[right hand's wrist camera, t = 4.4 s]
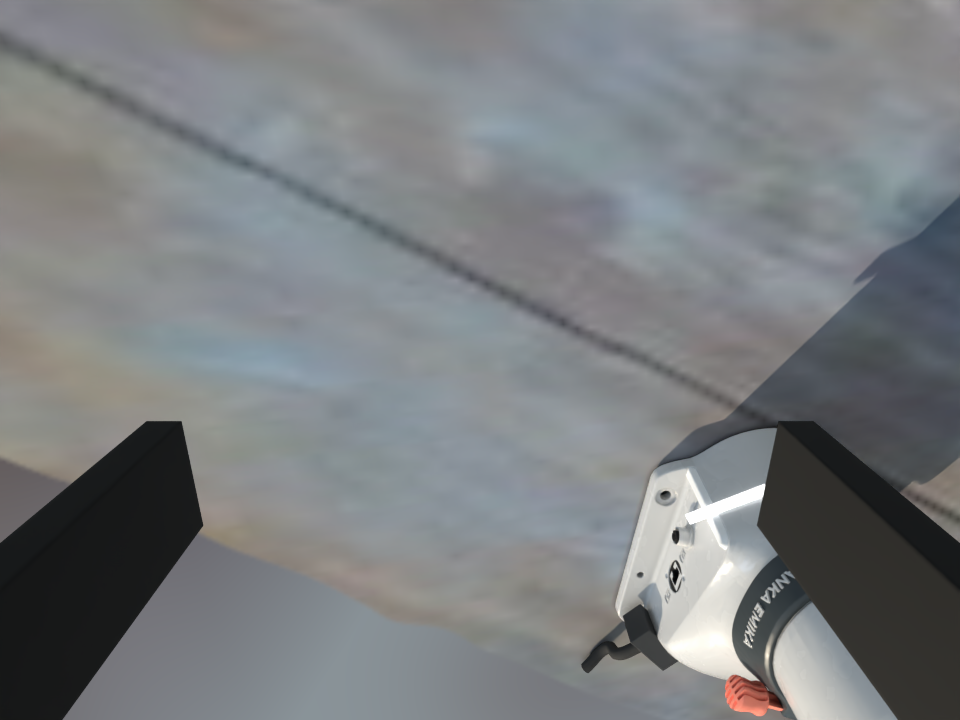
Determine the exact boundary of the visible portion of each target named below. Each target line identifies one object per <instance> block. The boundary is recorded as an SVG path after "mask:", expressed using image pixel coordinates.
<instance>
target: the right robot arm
mask: <svg viewBox="0 0 960 720" xmlns="http://www.w3.org/2000/svg"><path fill="white" fill-rule="evenodd" d="M202 527H203V522H202V517H201V512H200V508H199V503H198V498H197V493H196V488H195V484H194V479H193V474H192V469H191V464H190V460H189V455H188V450H187V445H186V441H185V436H184V431H183V426H182V421H146V422H145V423H144V424H143V425H142V426H140V427H139V428H138V429H137V430H136V431H134V432H133V433H132V434H131V435H130V436H128V437H127V438H126V439H125V440H124V441H122V442H121V443H120V444H119V445H118V446H116V447H115V448H114V449H113V450H112V451H110V452H109V453H108V454H107V455H106V456H104V457H103V458H102V459H101V460H100V461H98V462H97V463H96V464H95V465H94V466H92V467H91V468H90V469H89V470H87V471H86V472H85V473H84V474H83V475H81V476H80V477H79V478H78V479H77V480H75V481H74V482H73V483H72V484H71V485H69V486H68V487H67V488H66V489H65V490H64V491H62V492H61V493H60V494H59V495H57V496H56V497H55V498H54V499H53V500H51V501H50V502H49V503H48V504H47V505H45V506H44V507H43V508H42V509H41V510H39V511H38V512H37V513H36V514H35V515H33V516H32V517H31V518H30V519H29V520H27V521H26V522H25V523H24V524H23V525H21V526H20V527H19V528H18V529H17V530H15V531H14V532H13V533H12V534H11V535H9V536H8V537H7V538H6V539H5V540H3V541H2V542H1V543H0V720H62V719H63V718H64V717H65V715H66V714H67V713H68V711H69V710H70V708H71V707H72V706H73V704H74V703H75V702H76V700H77V699H78V697H79V696H80V695H81V693H82V692H83V691H84V689H85V688H86V686H87V685H88V684H89V682H90V681H91V680H92V678H93V677H94V675H95V674H96V673H97V671H98V670H99V668H100V667H101V666H102V664H103V663H104V662H105V660H106V659H107V657H108V656H109V655H110V653H111V652H112V651H113V649H114V648H115V646H116V645H117V644H118V642H119V641H120V640H121V638H122V637H123V635H124V634H125V633H126V631H127V630H128V628H129V627H130V626H131V624H132V623H133V622H134V620H135V619H136V617H137V616H138V615H139V613H140V612H141V611H142V609H143V608H144V606H145V605H146V604H147V602H148V601H149V600H150V598H151V597H152V595H153V594H154V593H155V591H156V590H157V588H158V587H159V586H160V584H161V583H162V582H163V580H164V579H165V578H166V576H167V575H168V573H169V572H170V571H171V569H172V568H173V566H174V565H175V564H176V562H177V561H178V559H179V558H180V557H181V555H182V554H183V553H184V551H185V550H186V549H187V547H188V546H189V544H190V543H191V542H192V540H193V539H194V538H195V536H196V535H197V533H198V532H199V531H200V529H201V528H202ZM757 527H758V528H759V529H760V531H761V532H762V533H763V535H764V536H765V538H766V539H767V540H768V542H769V543H770V544H771V546H772V547H773V549H774V550H775V551H776V553H777V554H778V555H779V557H780V558H781V560H782V561H783V562H784V564H785V565H786V566H787V568H788V569H789V571H790V572H791V573H792V575H793V576H794V578H795V579H796V580H797V582H798V583H799V584H800V586H801V587H802V589H803V590H804V591H805V593H806V594H807V595H808V597H809V598H810V600H811V601H812V602H813V604H814V605H815V606H816V608H817V609H818V611H819V612H820V613H821V615H822V616H823V618H824V619H825V620H826V622H827V623H828V624H829V626H830V627H831V629H832V630H833V631H834V633H835V634H836V635H837V637H838V638H839V640H840V641H841V642H842V644H843V645H844V646H845V648H846V649H847V651H848V652H849V653H850V655H851V656H852V657H853V659H854V660H855V662H856V663H857V664H858V666H859V667H860V669H861V670H862V671H863V673H864V674H865V675H866V677H867V678H868V680H869V681H870V682H871V684H872V685H873V686H874V688H875V689H876V691H877V692H878V693H879V695H880V696H881V697H882V699H883V700H884V702H885V703H886V704H887V706H888V707H889V708H890V710H891V711H892V713H893V714H894V715H895V717H896V718H897V720H960V543H959V542H958V541H957V540H955V539H954V538H953V537H952V536H951V535H949V534H948V533H947V532H946V531H945V530H943V529H942V528H941V527H940V526H939V525H937V524H936V523H935V522H934V521H933V520H931V519H930V518H929V517H928V516H927V515H925V514H924V513H923V512H922V511H921V510H919V509H918V508H917V507H916V506H915V505H913V504H912V503H911V502H910V501H909V500H907V499H906V498H905V497H904V496H903V495H901V494H900V493H899V492H898V491H897V490H895V489H894V488H893V487H892V486H891V485H889V484H888V483H887V482H886V481H885V480H883V479H882V478H881V477H880V476H879V475H877V474H876V473H875V472H874V471H872V470H871V469H870V468H869V467H868V466H866V465H865V464H864V463H863V462H862V461H860V460H859V459H858V458H857V457H856V456H854V455H853V454H852V453H851V452H850V451H848V450H847V449H846V448H845V447H844V446H842V445H841V444H840V443H839V442H838V441H836V440H835V439H834V438H833V437H832V436H830V435H829V434H828V433H827V432H826V431H824V430H823V429H822V428H821V427H820V426H818V425H817V424H816V423H815V422H814V421H778V426H777V431H776V436H775V441H774V445H773V450H772V455H771V460H770V464H769V469H768V474H767V479H766V484H765V488H764V493H763V498H762V503H761V508H760V512H759V517H758V522H757Z"/></svg>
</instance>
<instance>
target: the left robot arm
mask: <svg viewBox="0 0 960 720" xmlns="http://www.w3.org/2000/svg"><path fill="white" fill-rule="evenodd" d="M776 431H777V428H764V429H757V430H751V431H747V432H743V433H740V434H737V435H734V436H732V437H729V438H727V439H725V440H723V441H721V442H719V443H717V444H715V445H713V446H712V447H710V448H708V449H707V450H705V451H704V452H702V453H700V454H698V455H696V456H694V457H692V458H687V459H682V460H678V461H673V462H670V463H666V464H663V465H661V466H659V467H658V468H656V469H655V470H654V471H653V473H652V475H651V477H650V481H649V484H648V488H647V491H646V495H645V498H644V502H643V506H642V509H641V513H640V516H639V520H638V524H637V527H636V531H635V534H634V538H633V541H632V545H631V549H630V552H629V556H628V559H627V563H626V567H625V570H624V574H623V577H622V581H621V584H620V588H619V592H618V595H617V599H616V604H615V608H616V610H617V613H618V615H619V617H620V618H621V619H622V620H623V621H624V622H625V626H626V629H627V632H628V636H629V639H630V642H631V643H629V644H627V645H625V646H623V647H619V648H618V647H617V646H616V645H615V643H613V642H610V641H607V642H604V643H602V644H601V645H599V646H598V647H597V648H596V649H595V650H594V651H593V652H592V653H591V654H590V656H589V657H588V658H587V659H586V660H585V661H584V662H583V663H582V664H581V665H582V668H583V670H584V671H585V672H586V673H589V672H590V671H591V670H592V669H593V668H594V667H595V666H596V665H597V664H598V663H599V661H600V660H601V659H602V658H603V657H604V656H605V655H607V654H609V655H610V656H611V657H612V658H613V659H616V660H624V659H628V658H630V657H632V656H634V655H636V654H638V653H640V652H642V653H643V654H644V655H645V656H646V657H648V658H649V659H650V660H651V661H652V662H653V663H654V664H656V665H657V666H658V667H659V668H660V669H661V670H663V671H664V670H665V669H667V668H668V667H670V666H671V665H673V664H674V663H676V662H678V661H679V662H681V663H683V664H684V665H686V666H688V667H690V668H692V669H694V670H697V671H699V672H702V673H704V674H707V675H710V676H714V677H717V678H721V679H725V680H727V682H726V686H725V690H726V693H725V696H726V698H728V699H727V703H728V704H730V707H731V708H732V709H734V710H736V711H741V712H751V713H753V714H755V715H756V716H762V715H764V714H765V713H766V712H767V710H768V708H771V709H775V710H779V711H780V712H781V713H782V715H783V716H784V717H787V718H790V719H794V720H897V718H896V717H895V715H894V714H893V713H892V711H891V710H890V708H889V707H888V706H887V704H886V703H885V702H884V700H883V699H882V697H881V696H880V695H879V693H878V692H877V691H876V689H875V688H874V686H873V685H872V684H871V682H870V681H869V680H868V678H867V677H866V675H865V674H864V673H863V671H862V670H861V669H860V667H859V666H858V664H857V663H856V662H855V660H854V659H853V657H852V656H851V655H850V653H849V652H848V651H847V649H846V648H845V646H844V645H843V644H842V642H841V641H840V640H839V638H838V637H837V635H836V634H835V633H834V631H833V630H832V629H831V627H830V626H829V624H828V623H827V622H826V620H825V619H824V618H823V616H822V615H821V613H820V612H819V611H818V609H817V608H816V606H815V605H814V604H813V602H812V601H811V600H810V598H809V597H808V595H807V594H806V593H805V591H804V590H803V589H802V587H801V586H800V584H799V583H798V582H797V580H796V579H795V578H794V576H793V575H792V573H791V572H790V571H789V569H788V568H787V566H786V565H785V564H784V562H783V561H782V560H781V558H780V557H779V555H778V554H777V553H776V551H775V550H774V549H773V547H772V546H771V544H770V543H769V542H768V540H767V539H766V538H765V536H764V535H763V533H762V532H761V531H760V529H759V528H758V527H757V522H758V517H759V512H760V508H761V503H762V498H763V493H764V488H765V484H766V479H767V474H768V469H769V464H770V460H771V455H772V450H773V445H774V441H775V436H776ZM663 491H668V492H667V493H666V494H664V495H660V494H661V493H662V492H663ZM765 686H766V687H767V688H768V689H769V691H767V688H766V687H765Z"/></svg>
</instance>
